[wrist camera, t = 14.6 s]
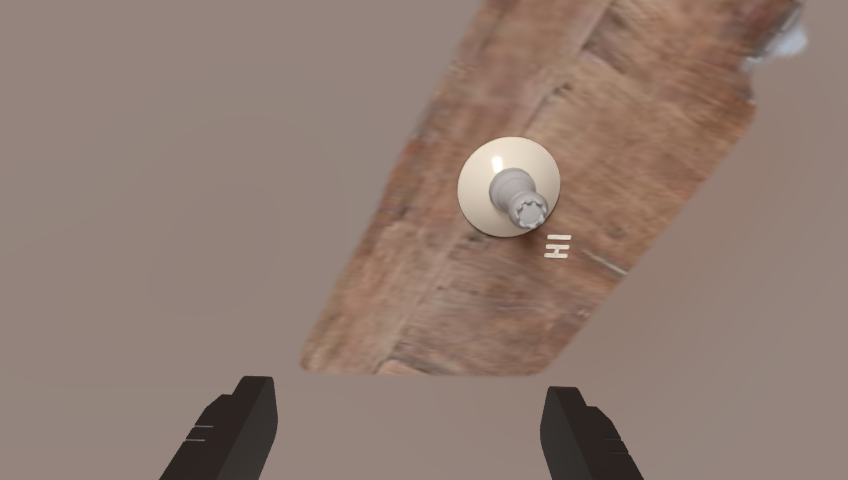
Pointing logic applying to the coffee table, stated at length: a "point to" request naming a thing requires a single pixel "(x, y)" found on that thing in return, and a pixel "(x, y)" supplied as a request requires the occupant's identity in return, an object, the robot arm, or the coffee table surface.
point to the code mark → (557, 246)
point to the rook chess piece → (518, 198)
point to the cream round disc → (489, 164)
